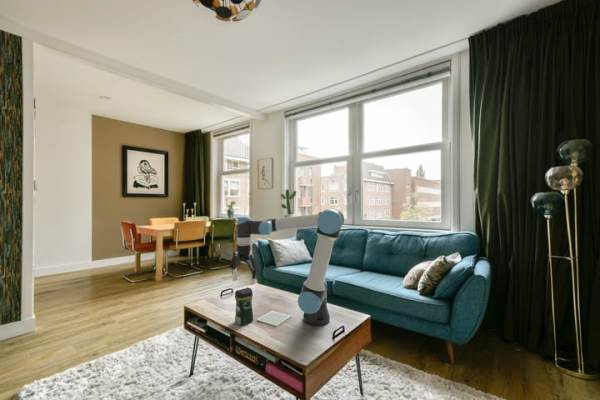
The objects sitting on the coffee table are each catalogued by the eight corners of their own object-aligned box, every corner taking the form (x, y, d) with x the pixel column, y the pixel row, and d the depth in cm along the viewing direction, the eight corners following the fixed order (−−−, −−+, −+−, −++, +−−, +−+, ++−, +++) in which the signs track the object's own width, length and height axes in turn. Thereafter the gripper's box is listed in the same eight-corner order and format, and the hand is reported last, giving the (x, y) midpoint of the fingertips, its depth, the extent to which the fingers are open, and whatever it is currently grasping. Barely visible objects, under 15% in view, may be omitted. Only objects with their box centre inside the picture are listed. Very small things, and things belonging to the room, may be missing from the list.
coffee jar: (247, 317, 159) (247, 285, 159) (255, 321, 153) (255, 288, 153) (232, 322, 152) (232, 289, 152) (240, 327, 146) (240, 292, 146)
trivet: (291, 317, 158) (291, 315, 158) (276, 326, 146) (276, 325, 146) (272, 312, 166) (272, 310, 166) (256, 320, 154) (256, 319, 154)
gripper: (265, 245, 149) (265, 284, 149) (232, 241, 162) (232, 277, 162) (256, 247, 143) (256, 288, 143) (223, 243, 156) (222, 280, 156)
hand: (243, 282), depth 152 cm, fingers open, 13 cm apart
